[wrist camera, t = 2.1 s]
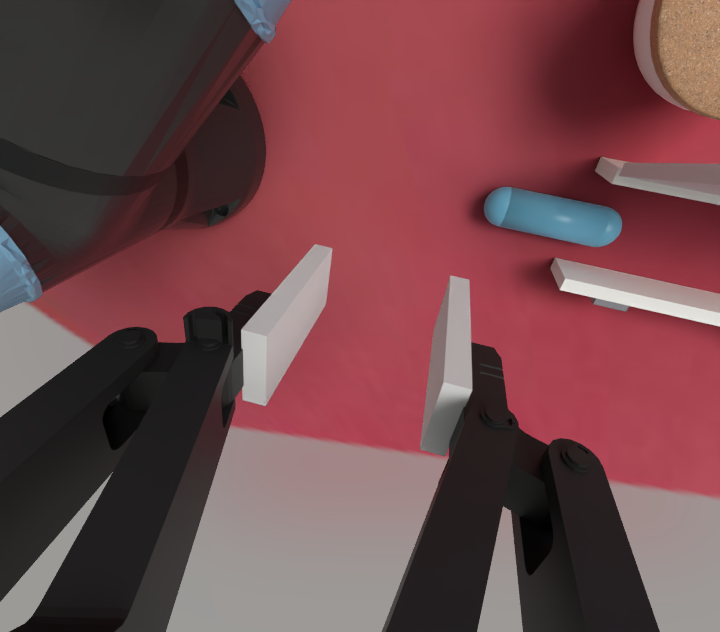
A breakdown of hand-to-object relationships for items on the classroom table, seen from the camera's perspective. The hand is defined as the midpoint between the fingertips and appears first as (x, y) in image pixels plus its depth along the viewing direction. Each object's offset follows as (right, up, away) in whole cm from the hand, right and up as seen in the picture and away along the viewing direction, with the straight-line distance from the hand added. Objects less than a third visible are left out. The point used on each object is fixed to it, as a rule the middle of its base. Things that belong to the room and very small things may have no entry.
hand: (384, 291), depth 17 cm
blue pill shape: (+14, +7, +15) cm, 21 cm away
